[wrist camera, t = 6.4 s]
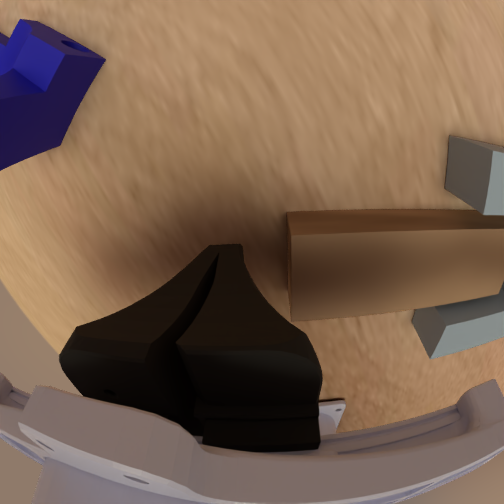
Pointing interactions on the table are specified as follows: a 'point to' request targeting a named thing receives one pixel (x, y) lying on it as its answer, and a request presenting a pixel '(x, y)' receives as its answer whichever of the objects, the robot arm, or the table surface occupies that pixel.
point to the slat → (390, 260)
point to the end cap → (487, 203)
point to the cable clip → (40, 88)
